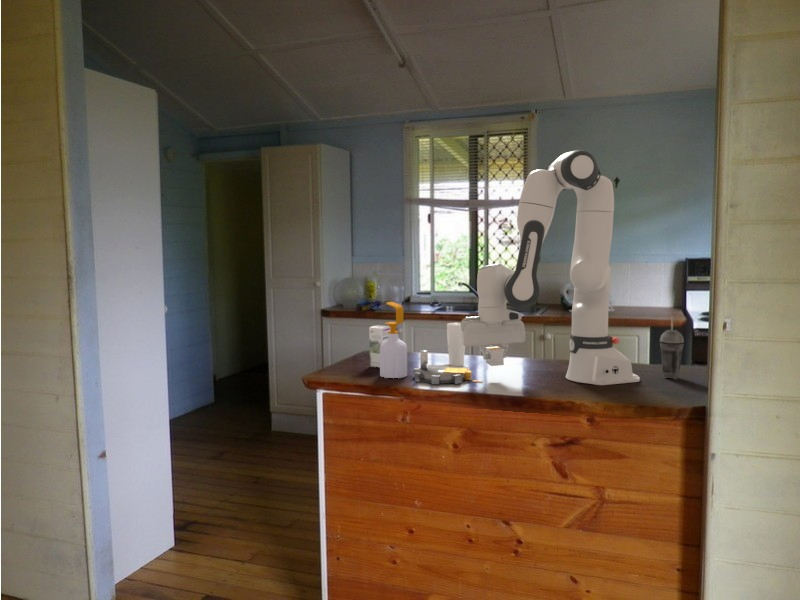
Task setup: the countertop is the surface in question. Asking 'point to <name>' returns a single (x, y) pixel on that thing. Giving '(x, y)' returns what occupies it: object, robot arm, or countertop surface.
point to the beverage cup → (671, 352)
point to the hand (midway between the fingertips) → (494, 358)
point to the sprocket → (440, 372)
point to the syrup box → (377, 343)
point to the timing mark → (476, 381)
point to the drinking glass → (455, 344)
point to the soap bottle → (393, 349)
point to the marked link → (495, 356)
